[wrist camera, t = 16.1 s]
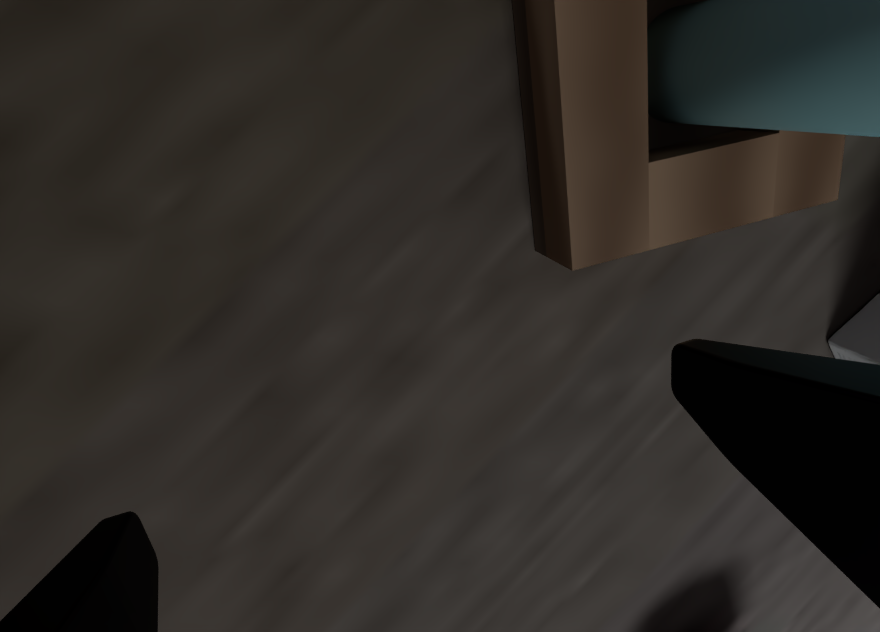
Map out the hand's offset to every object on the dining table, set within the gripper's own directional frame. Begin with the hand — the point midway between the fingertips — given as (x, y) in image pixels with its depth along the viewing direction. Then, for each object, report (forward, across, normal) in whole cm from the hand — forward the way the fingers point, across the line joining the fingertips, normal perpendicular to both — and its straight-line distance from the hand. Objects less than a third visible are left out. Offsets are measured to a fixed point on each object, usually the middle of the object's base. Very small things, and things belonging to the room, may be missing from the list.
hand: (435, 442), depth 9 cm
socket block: (+13, -14, -4) cm, 20 cm away
